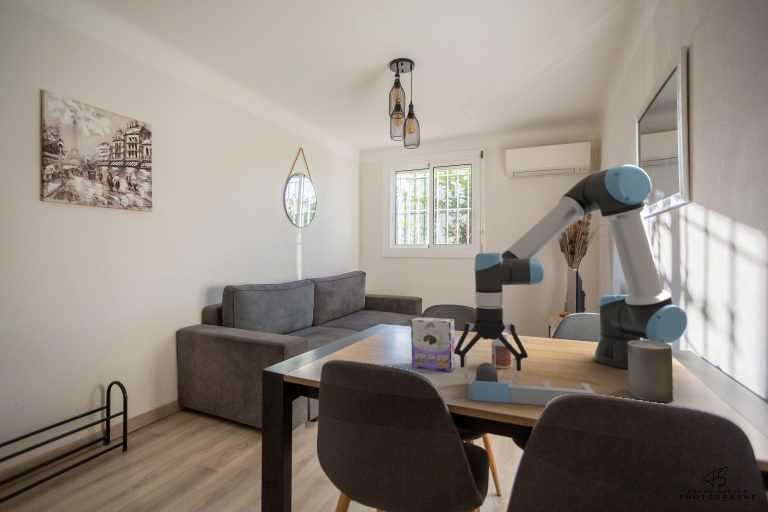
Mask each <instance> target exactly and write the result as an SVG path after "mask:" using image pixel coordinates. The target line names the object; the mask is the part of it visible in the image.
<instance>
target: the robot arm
mask: <svg viewBox="0 0 768 512" xmlns="http://www.w3.org/2000/svg"><path fill="white" fill-rule="evenodd" d="M650 192H652V182H651V179H650V176H649V175H648V174H647V172H646V171H645V170H644V169H642V167H639V166H637V165H634V164H622V165H616V166H614V167H613V166H612V167H611V168H608V169H607V168H606V169H605V170H601V171H599V172H594V173H591V174H588V175H587V176H585V177H583V178H582V179H581V180H579V181H578V182H577V183H575V185H573V186H572V187H571V188H570V189H569V190H568V191H567V192H566V193H564V194H563V195H562V196H561V197H560V198H559V199H558V204H557V205H556V206H554V208H552V209H551V210H550V211H549V212H548V213H546V214H545V215H544V216H543V217H542V218H541V219H540V220H539V221H538V222H537V223H535V225H533V226H532V227H531V228H530V229H529V230H528V231H526V232H525V233H524V234H523V235H522V236H521V237H520V238H519V239H518V240H516V241H515V243H513V244H512V245H510V247H509V248H507V250H505V251H504V252H503V253H501V252H480V253H477V254H476V255H475V259H474V280H475V281H474V282H475V291H474V295H475V298H474V299H475V306H476V308H475V322H473V323H472V322H469V321H466V322H465V325H464V330H463V333H462V334H461V336H460V338H459V340H458V342H457V344H456V345H455V350H454V354H455V355H457V356H459V357H460V358H459V361H460V362H459V363H460V364H459V366H460V368H463V369H464V372H463V373H464V374H463V375H464V380H465V381H467V380H469V378H468V377H469V371H468V368H469V367H468V355H467V353H469V351H470V350H471V349H472V348H473V347H474V346H475V345H476V344H477V342H478V341H479V340H480V339H481V338H482V339H483V340H491V341H492V340H495V339H497V338H498V339H499V340H500V341H501V342H502V343H503V344H504V345H505V346H506V347H507V348H508V350H509V351H510V352H511V355H513V357H512V358H513V359H512V361H513V363H512V365H513V384H515V385H518V372H521V371H522V360H523V359H527V358H528V353H527V351H526V348H525V347H524V345H523V344H522V342H521V340H520V338H519V335H518V334H517V332H516V328H515V323H512V322H511V323H507V324H505V323H504V312H503V311H504V310H503V307H502V306H503V305H504V303H503V301H504V299H503V296H504V295H503V294H504V293H503V286H519V285H520V286H521V285H522V286H524V285H525V286H527V285H528V286H531V285H539V284H540V283H542V282H543V280H544V278H545V277H544V276H545V267H544V265H543V264H544V263H542V261H541V260H540V259H538V258H535V257H536V256H538V254H539V253H540V252H542V251H543V250H544V249H545V248H547V246H548V245H550V243H552V242H553V241H554V240H555V239H556V238H557V237H559V236H560V235H561V234H562V233H563V232H564V231H565V230H566V229H567V228H569V226H571V225H572V224H573V223H574V222H575V221H576V220H578V221H579V220H582V219H583V218H584V217H586V216H587V215H588V214H590V213H592V212H594V211H597V210H599V211H600V215H601V217H602V218H603V219H605V220H607V221H608V222H609V226H610V230H611V234H612V236H613V240H614V243H615V248H616V251H617V255H618V259H619V262H620V265H621V266H620V267H621V269H622V273H623V276H624V281H625V283H626V288H627V291H628V294H609V295H602V296H601V297H600V300H599V305H598V308H599V329H600V330H599V331H600V335H599V340H598V343H597V346H596V348H595V352H594V360H595V361H596V362H597V363H600V364H602V365H606V366H610V367H615V368H622V369H628V342H629V341H632V340H641V339H643V340H648V341H649V339H650V341H658V342H663V343H667V344H671V343H674V342H676V341H678V340H679V339H680V338H681V337H682V336H683V334H684V332H685V331H686V329H687V327H688V316H687V314H686V311H684V309H683V308H682V307H680V306H679V305H677V304H676V305H675V304H674V303H673V299H672V296H671V293H669V292H668V291H666V290H664V289H663V287H662V283H661V279H660V275H659V270H658V267H657V263H656V261H655V257H654V253H653V249H652V246H651V241H650V238H649V234H648V231H647V226H646V224H645V219H644V218H645V217H644V215H643V212H644V210H645V209H646V208H647V202H646V200H647V199H648V198H649V197H650ZM472 329H475V331H476V332H477V333H476V334H475V335H474V336H473V338H472V339H470V341H469V342H468V343H467V344H466V345H465V347H464V348H463V349H461V348H462V346H463V344H464V342H465V340H466V338H467V336H468V334H469V331H470V332H471V331H472ZM505 330H507V333H510V334H511V336H512V338H513V340H514V342H515V344H516V346H517V348H518V349H519V351H520V353H519V352H518V350H517V349H516V348H515V347H514V345H512V344H510V343H511V342H510V343H509V342H508V340H509V339H508V338H507V339H508V340H507V339H506V338H505V337H504V335H503V334H502V332H505Z"/></svg>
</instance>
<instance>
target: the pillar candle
mask: <svg viewBox="0 0 768 512" xmlns="http://www.w3.org/2000/svg"><path fill="white" fill-rule="evenodd" d="M672 347H673V346H672V345H671V344H670V343H663V342H658V341H650V339H649V340H647V339H640V340H632V341H629V342H628V368H627V370H628V375H627V376H628V393H629V394H630V395H632V397H634V396H635V397H634V398H636V397H637V398H636V399H639V400H642V401H646V400H647V401H646V402H651V401H655V403H669V402H673V401H674V382H673V381H674V379H673V371H674V370H673V368H674V367H673V348H672ZM640 398H642V399H640Z"/></svg>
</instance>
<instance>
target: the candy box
mask: <svg viewBox="0 0 768 512" xmlns="http://www.w3.org/2000/svg"><path fill="white" fill-rule="evenodd" d="M410 333H411V335H410V336H411V338H410V340H411V365H412V366H411V368H413V369H414V368H415V369H422V370H424V369H425V370H431V371H432V370H433V371H443V372H452V371H453V370H454V369H455V368H456V354H454V350H455V348H456V341H455V339H456V338H455V337H456V336H455V335H456V333H455V319H454V318H438V317H421V316H418V317H414V318H412V319H411V320H410Z"/></svg>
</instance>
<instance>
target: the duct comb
mask: <svg viewBox="0 0 768 512" xmlns="http://www.w3.org/2000/svg"><path fill="white" fill-rule="evenodd" d="M475 380H476V375H469V378H468V400H472V401H478V402H479V401H482V402H492V403H493V402H494V403H503V404H509V403H511V404H519V405H520V404H523V405H531V406H533V405H534V406H545V405H546V404H547V403H548V402H549V401H551V400H552V399H553V398H555V397H557V396H560V395H565V394H595V393H596V392H595V391H594V390H593V389H592V388H591V387H592V386H590V384H589V383H585V382H582V383H581V389H577V388H565V387H563V388H562V387H552V386H551V384H550V381H549V380H542V386H539V385H538V386H537V385H536V386H534V385H522V384H513V383H512V378H511V377H505V379H504V380H505V381H504V382H499V381H498V382H486V381H475ZM595 395H596V394H595Z"/></svg>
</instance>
